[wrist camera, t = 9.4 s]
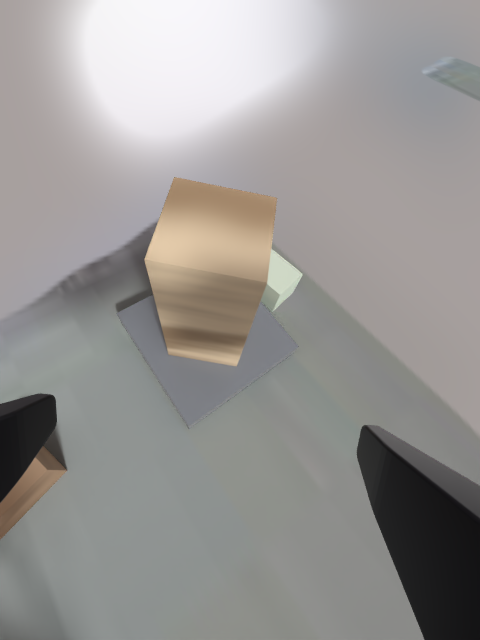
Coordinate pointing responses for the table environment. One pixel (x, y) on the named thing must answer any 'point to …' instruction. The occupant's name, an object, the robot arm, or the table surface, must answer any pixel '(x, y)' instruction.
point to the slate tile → (202, 376)
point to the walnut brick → (29, 489)
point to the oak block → (210, 268)
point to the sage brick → (279, 281)
